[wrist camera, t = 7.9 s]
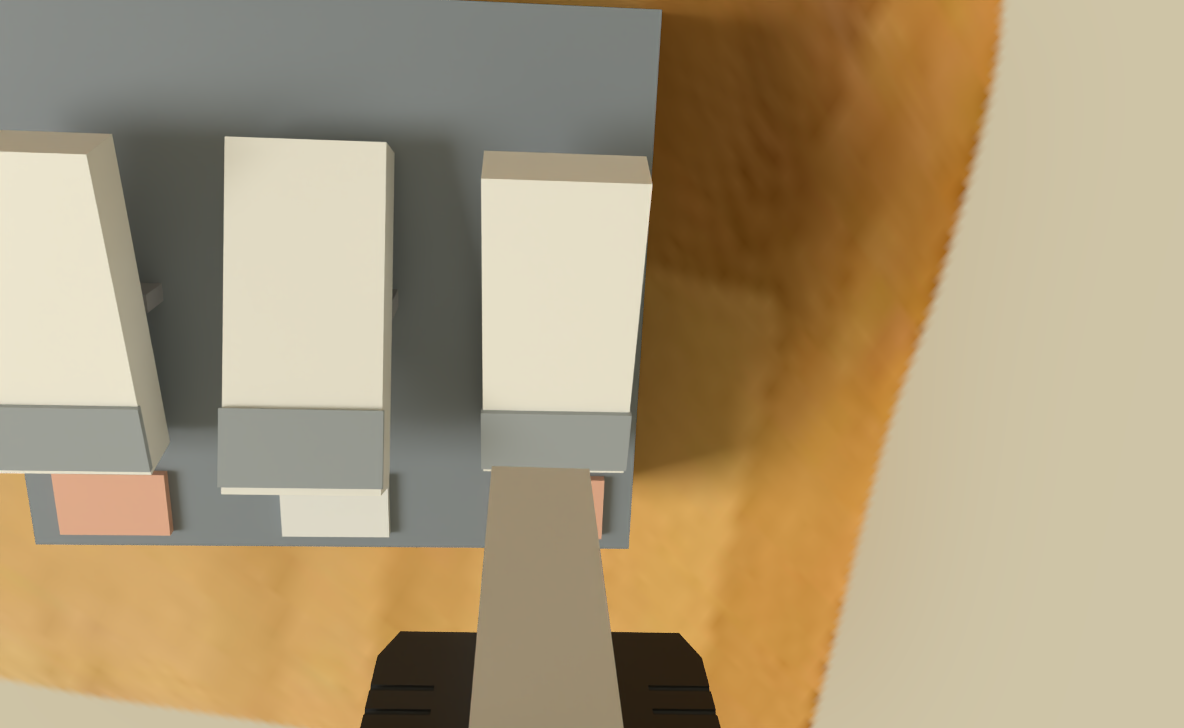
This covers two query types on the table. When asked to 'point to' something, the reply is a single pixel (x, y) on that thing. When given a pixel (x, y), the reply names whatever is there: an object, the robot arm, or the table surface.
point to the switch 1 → (72, 314)
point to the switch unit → (420, 228)
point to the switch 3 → (560, 306)
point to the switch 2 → (306, 317)
